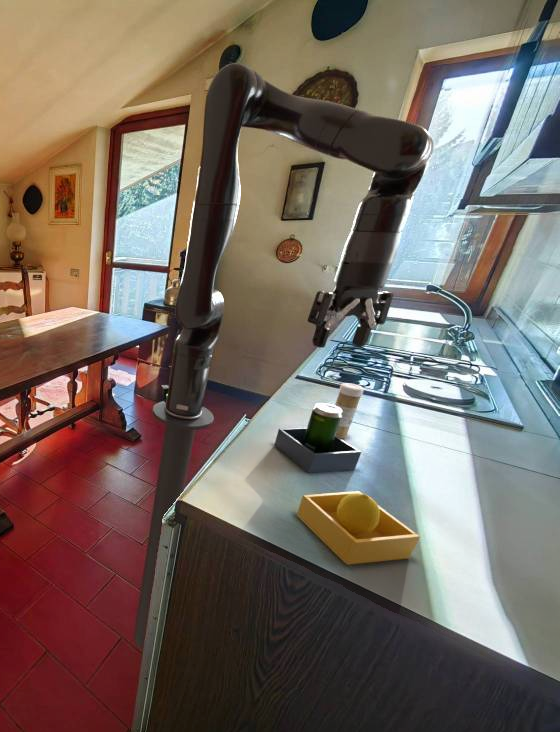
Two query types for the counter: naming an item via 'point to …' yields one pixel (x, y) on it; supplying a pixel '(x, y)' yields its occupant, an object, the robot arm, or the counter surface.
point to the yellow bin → (356, 548)
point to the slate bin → (311, 462)
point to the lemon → (358, 513)
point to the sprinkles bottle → (347, 406)
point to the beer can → (322, 427)
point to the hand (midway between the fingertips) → (338, 345)
